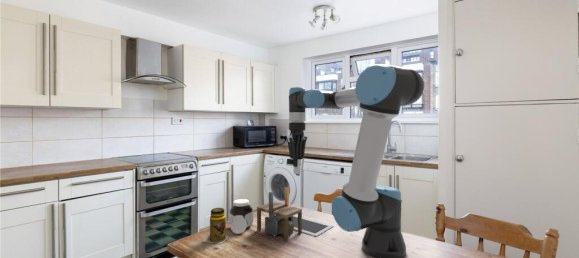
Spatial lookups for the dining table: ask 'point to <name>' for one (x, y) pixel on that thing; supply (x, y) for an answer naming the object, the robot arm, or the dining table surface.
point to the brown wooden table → (284, 213)
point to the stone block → (281, 227)
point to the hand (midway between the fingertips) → (296, 173)
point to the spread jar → (240, 216)
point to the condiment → (217, 226)
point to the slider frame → (272, 220)
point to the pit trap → (311, 226)
